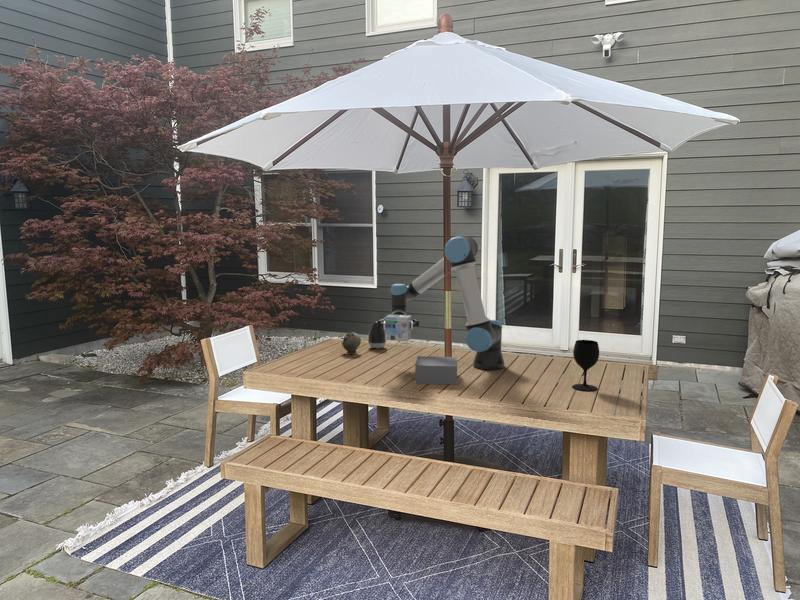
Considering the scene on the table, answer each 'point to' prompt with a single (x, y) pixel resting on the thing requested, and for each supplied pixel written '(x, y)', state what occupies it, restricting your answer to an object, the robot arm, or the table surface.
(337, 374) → the table surface
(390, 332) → the light bulb box
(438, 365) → the grey block
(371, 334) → the black tapered dome
